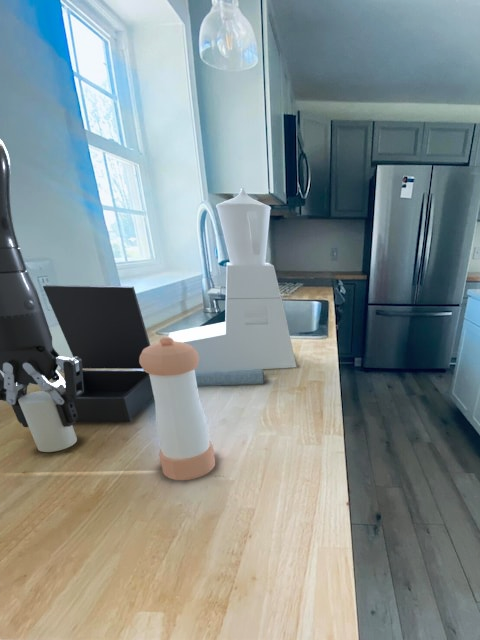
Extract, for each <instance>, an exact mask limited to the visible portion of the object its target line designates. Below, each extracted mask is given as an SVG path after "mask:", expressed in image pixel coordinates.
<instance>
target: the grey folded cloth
mask: <svg viewBox="0 0 480 640" xmlns="http://www.w3.org/2000/svg"><path fill="white" fill-rule="evenodd" d="M195 376H196V382H197V387H201V386H202V387H204V386H223V387H224V386H242V385H244V386H245V385H264V383H265V372H264V369H256V370H237V371H211V372H195Z"/></svg>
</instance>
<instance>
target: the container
mask: <svg viewBox="0 0 480 640" xmlns="http://www.w3.org/2000/svg"><path fill="white" fill-rule="evenodd" d="M18 402H19V404H20V407H21V409H22V412H23V414H24V416H25V419H26V421H27V424H28V426H29V427H28V429H29V431H30V434H31V436H32V438H33V441H34V443H35V446H36V448H37V450H38V451H39V452H42V453H53V452H54V453H55V452H59V451H63V450H66V449H68V448H70V447H72V446H74V445H75V444H77V442H78V438H77V434H76V432H75V429H74V426H73V425H71V426H70V427H65V426H63V424H62V421H61V418H60V415H59V412H58V410H57V407H56V405H57V403H56V402H55V400H54V399H53V398H52V397H51V396H50V394H49V393H48V392H44V391H43V390H38V391H34V392H30V393H27V395H24V396H22V397H21V398H19V400H18Z"/></svg>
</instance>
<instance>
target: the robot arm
mask: <svg viewBox="0 0 480 640" xmlns="http://www.w3.org/2000/svg"><path fill="white" fill-rule="evenodd" d="M13 217H14V216H13V207H12V169H11V160H10V156H9V153H8V150H7V148H6V146H5V144H4V142H3V140H2V139H1V138H0V401H3V402H6V404H8V405H10V406H11V407H12V410H13V412H14V414H15V417H16V420H17V421H18V422H19V424H21V425H22V427H24V428H29V426H28V424H27V421H26V419H25V416H24V414H23V412H22V409H21V407H20V404H19V402H18V400H19V398H21V397H22V396H24V395H27V394H28V386H29V385H30V384H32V385H38V386H39V387H40V389H41V391H44V392H48V393H49V394H50V396H51V397H52V398H53V399H54V400H55V402H56V403H57V405H56V407H57V410H58V412H59V415H60V418H61V421H62V424H63V426H65V427H70V426H71V425H72V426H73V425H74V424H75V423H77V422H76V420H77V418H78V415H77V413H76V409H75V406H74V403H73V400H75V399H76V398H78V397H79V396H81V395H82V394H83V393H84V383H83V370H84V369H82V360H81V358H80V357H77V356H75V357H73V356H72V357H66V356H62V355H60V353H58V351H57V350H56V349H55V347H54V345H53V336H52V333H51V329H50V326H49V324H48V320H47V317H46V315H45V312H44V309H43V307H42V306H43V305H42V302H41V298H40V296H39V293H38V291H37V287H36V286H35V284H34V282H33V279H32V277H31V276H30V273H29V271H28V268H27V265H26V261H25V259H24V256H23V253H22V250H21V247H20V244H19V240H18V237H17V234H16V229H15V224H14V218H13ZM58 366H59V368H60V372H61V373H63V375H64V376H62V374H61V373H60V372H59V370H58ZM1 372H2V373H3V374H2V373H1ZM64 379H65V380H64ZM50 381H52V382H50Z"/></svg>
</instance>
